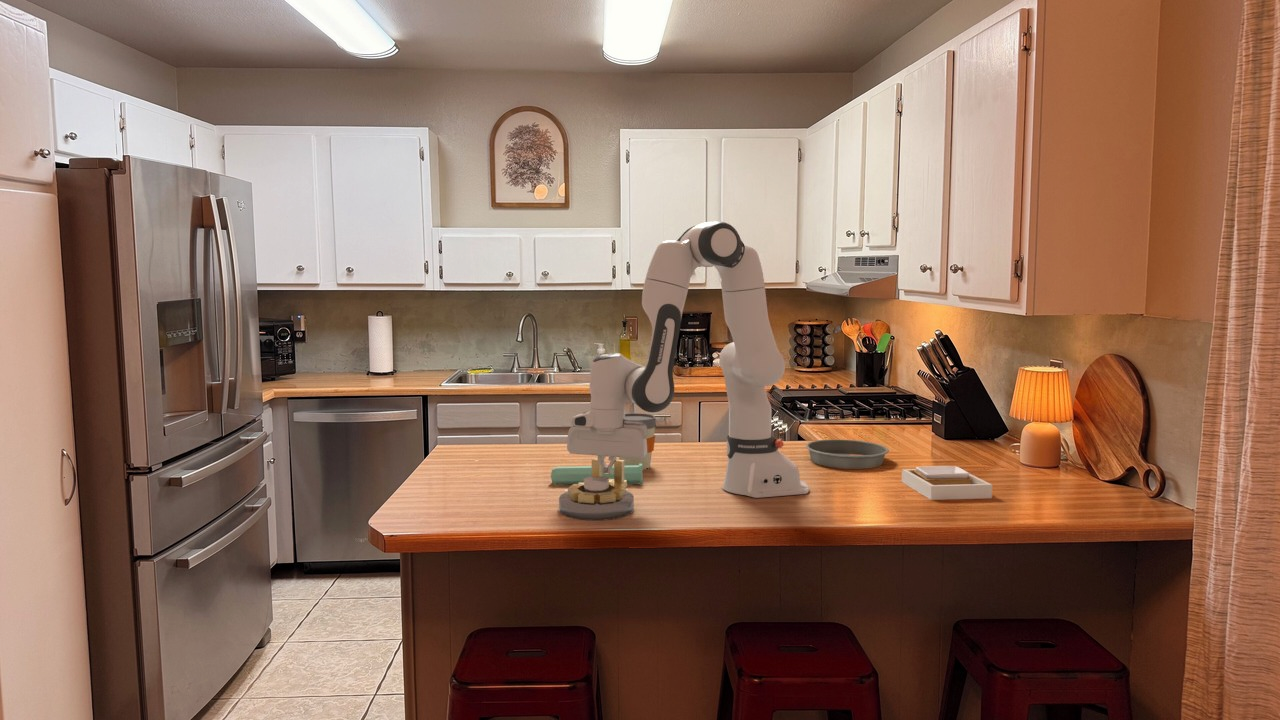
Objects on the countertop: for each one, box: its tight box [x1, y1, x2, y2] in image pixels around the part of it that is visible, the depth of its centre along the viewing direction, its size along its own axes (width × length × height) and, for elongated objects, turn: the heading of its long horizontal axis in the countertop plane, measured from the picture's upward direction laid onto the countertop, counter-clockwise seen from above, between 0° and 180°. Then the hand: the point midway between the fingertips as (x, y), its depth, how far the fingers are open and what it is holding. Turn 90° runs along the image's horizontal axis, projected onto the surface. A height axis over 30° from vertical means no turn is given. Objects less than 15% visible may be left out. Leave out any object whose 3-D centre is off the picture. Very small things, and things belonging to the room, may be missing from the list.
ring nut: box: [567, 457, 628, 503], centre depth 199 cm, size 17×13×7 cm
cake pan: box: [805, 438, 890, 470], centre depth 249 cm, size 25×25×4 cm
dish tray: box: [901, 468, 993, 501], centre depth 215 cm, size 16×18×4 cm
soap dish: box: [913, 465, 973, 485], centre depth 217 cm, size 12×10×5 cm
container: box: [550, 464, 644, 485], centre depth 222 cm, size 6×6×25 cm
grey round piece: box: [558, 476, 635, 521], centre depth 197 cm, size 18×18×8 cm
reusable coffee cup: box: [618, 412, 657, 470], centre depth 241 cm, size 12×13×15 cm
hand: (606, 473), depth 204 cm, fingers closed, pressing on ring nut
